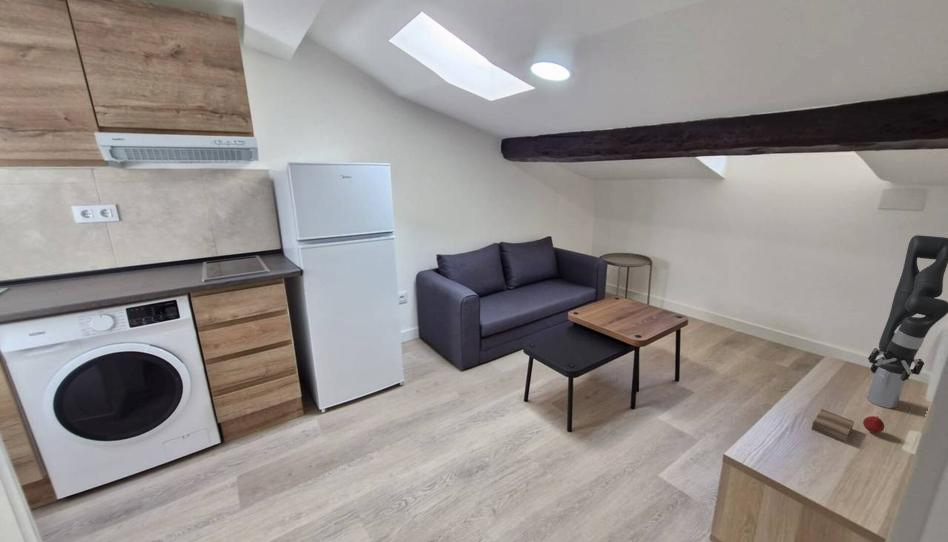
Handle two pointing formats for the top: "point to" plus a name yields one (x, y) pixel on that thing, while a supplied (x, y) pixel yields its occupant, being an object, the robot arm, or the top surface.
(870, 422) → the pomegranate
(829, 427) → the plinth
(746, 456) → the top surface
